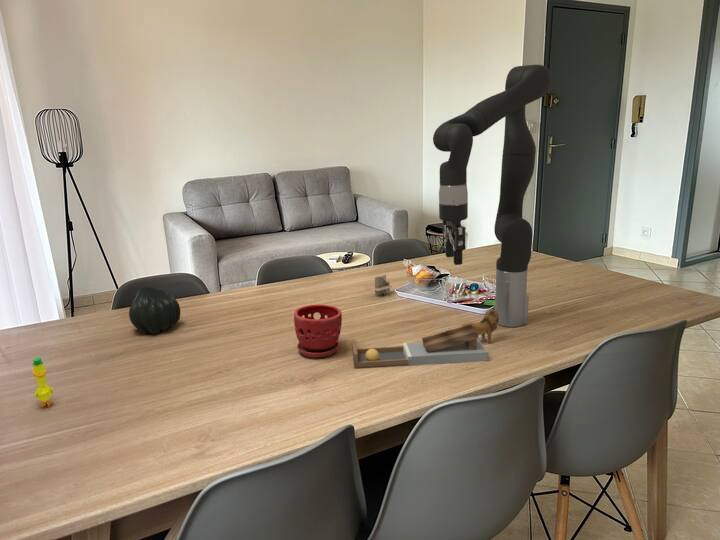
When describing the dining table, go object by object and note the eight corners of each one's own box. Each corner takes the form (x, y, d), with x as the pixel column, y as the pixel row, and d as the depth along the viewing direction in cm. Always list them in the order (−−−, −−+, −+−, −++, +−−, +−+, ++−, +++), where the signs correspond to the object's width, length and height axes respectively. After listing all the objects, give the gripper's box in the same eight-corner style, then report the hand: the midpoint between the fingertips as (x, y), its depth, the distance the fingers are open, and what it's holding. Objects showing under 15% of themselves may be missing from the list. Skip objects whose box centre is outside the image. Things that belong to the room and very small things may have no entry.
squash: (192, 313, 171) (170, 274, 174) (146, 328, 160) (124, 286, 164) (179, 333, 180) (159, 295, 184) (136, 348, 170) (115, 308, 174)
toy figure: (35, 401, 129) (25, 355, 126) (52, 396, 131) (43, 350, 128) (39, 412, 124) (29, 364, 121) (57, 407, 126) (47, 360, 123)
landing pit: (403, 351, 150) (402, 338, 149) (408, 365, 142) (407, 351, 141) (352, 354, 149) (351, 340, 148) (354, 368, 141) (353, 354, 140)
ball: (383, 355, 144) (375, 344, 144) (378, 360, 141) (369, 349, 141) (374, 361, 146) (366, 350, 146) (369, 367, 142) (360, 356, 143)
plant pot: (306, 365, 144) (304, 322, 141) (289, 348, 155) (286, 308, 152) (351, 354, 150) (349, 313, 146) (331, 338, 161) (329, 300, 158)
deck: (477, 347, 152) (477, 339, 151) (487, 360, 143) (487, 352, 142) (403, 351, 150) (402, 343, 150) (408, 365, 142) (407, 356, 141)
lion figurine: (490, 335, 160) (491, 306, 158) (503, 341, 155) (504, 311, 153) (449, 345, 154) (450, 315, 151) (461, 351, 149) (462, 321, 147)
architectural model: (392, 295, 201) (392, 276, 199) (378, 299, 196) (378, 280, 194) (386, 293, 203) (386, 274, 201) (372, 297, 199) (372, 278, 197)
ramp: (472, 341, 149) (473, 323, 148) (478, 350, 144) (478, 331, 142) (421, 344, 148) (421, 326, 147) (425, 353, 143) (425, 334, 142)
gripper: (433, 198, 151) (434, 255, 155) (446, 206, 137) (446, 268, 141) (459, 197, 151) (460, 253, 156) (475, 204, 138) (475, 266, 142)
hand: (453, 260), depth 149 cm, fingers open, 8 cm apart
